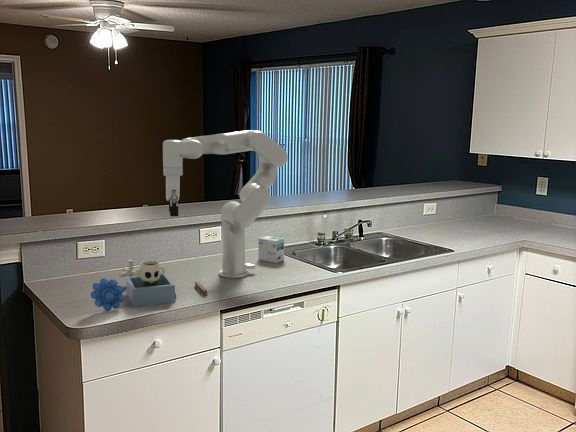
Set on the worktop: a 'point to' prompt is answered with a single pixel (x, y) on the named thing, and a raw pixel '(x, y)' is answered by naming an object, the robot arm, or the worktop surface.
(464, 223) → the worktop surface
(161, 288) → the bin
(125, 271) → the pipe connector
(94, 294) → the blue flower
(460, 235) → the worktop surface
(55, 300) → the worktop surface
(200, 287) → the seat rails
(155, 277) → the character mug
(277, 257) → the light bulb box
